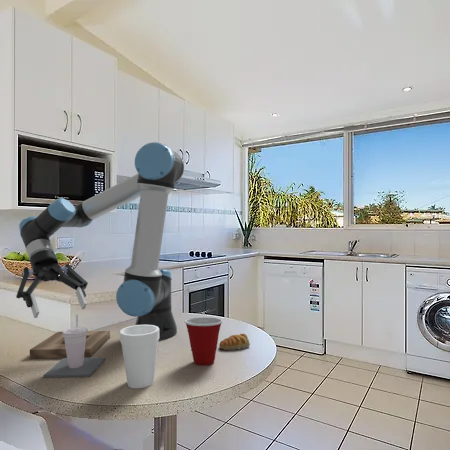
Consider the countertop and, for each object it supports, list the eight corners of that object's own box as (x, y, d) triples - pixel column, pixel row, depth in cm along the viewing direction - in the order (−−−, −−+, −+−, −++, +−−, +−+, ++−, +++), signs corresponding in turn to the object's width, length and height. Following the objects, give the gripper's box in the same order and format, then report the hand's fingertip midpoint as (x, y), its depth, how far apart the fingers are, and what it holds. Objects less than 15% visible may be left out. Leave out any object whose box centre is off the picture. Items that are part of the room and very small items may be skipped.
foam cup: (166, 377, 92) (166, 326, 92) (147, 393, 83) (146, 337, 83) (134, 372, 95) (133, 323, 95) (112, 388, 86) (111, 333, 86)
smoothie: (79, 371, 95) (78, 318, 95) (57, 369, 96) (56, 317, 96) (92, 361, 101) (92, 312, 101) (72, 360, 103) (71, 311, 103)
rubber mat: (105, 359, 105) (105, 357, 105) (89, 376, 93) (89, 374, 93) (63, 360, 105) (63, 357, 105) (43, 377, 93) (43, 375, 93)
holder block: (109, 338, 125) (109, 330, 125) (90, 357, 107) (90, 348, 107) (57, 338, 125) (57, 331, 125) (29, 358, 107) (29, 349, 107)
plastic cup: (227, 356, 106) (227, 315, 106) (217, 370, 95) (217, 325, 95) (192, 353, 109) (191, 313, 109) (179, 367, 98) (178, 323, 98)
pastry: (225, 353, 109) (225, 340, 109) (215, 347, 115) (215, 335, 115) (251, 348, 113) (251, 335, 113) (240, 342, 119) (240, 330, 119)
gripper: (77, 261, 127) (98, 310, 116) (-5, 268, 109) (11, 327, 98) (83, 246, 123) (105, 296, 113) (0, 251, 105) (17, 310, 95)
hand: (61, 310), depth 105 cm, fingers open, 13 cm apart
